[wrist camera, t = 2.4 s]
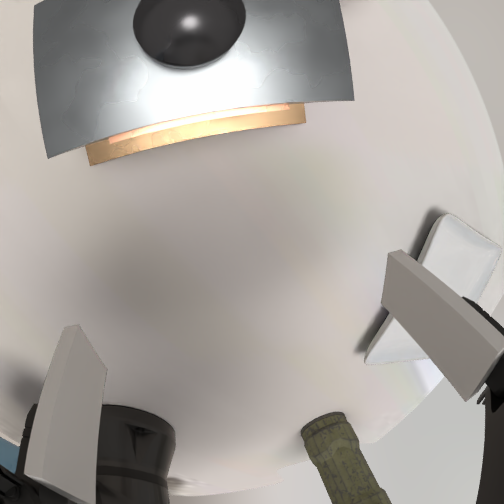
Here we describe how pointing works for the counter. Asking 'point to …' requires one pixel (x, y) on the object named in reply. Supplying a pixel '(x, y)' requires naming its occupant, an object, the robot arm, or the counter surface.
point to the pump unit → (181, 69)
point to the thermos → (341, 461)
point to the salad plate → (448, 271)
